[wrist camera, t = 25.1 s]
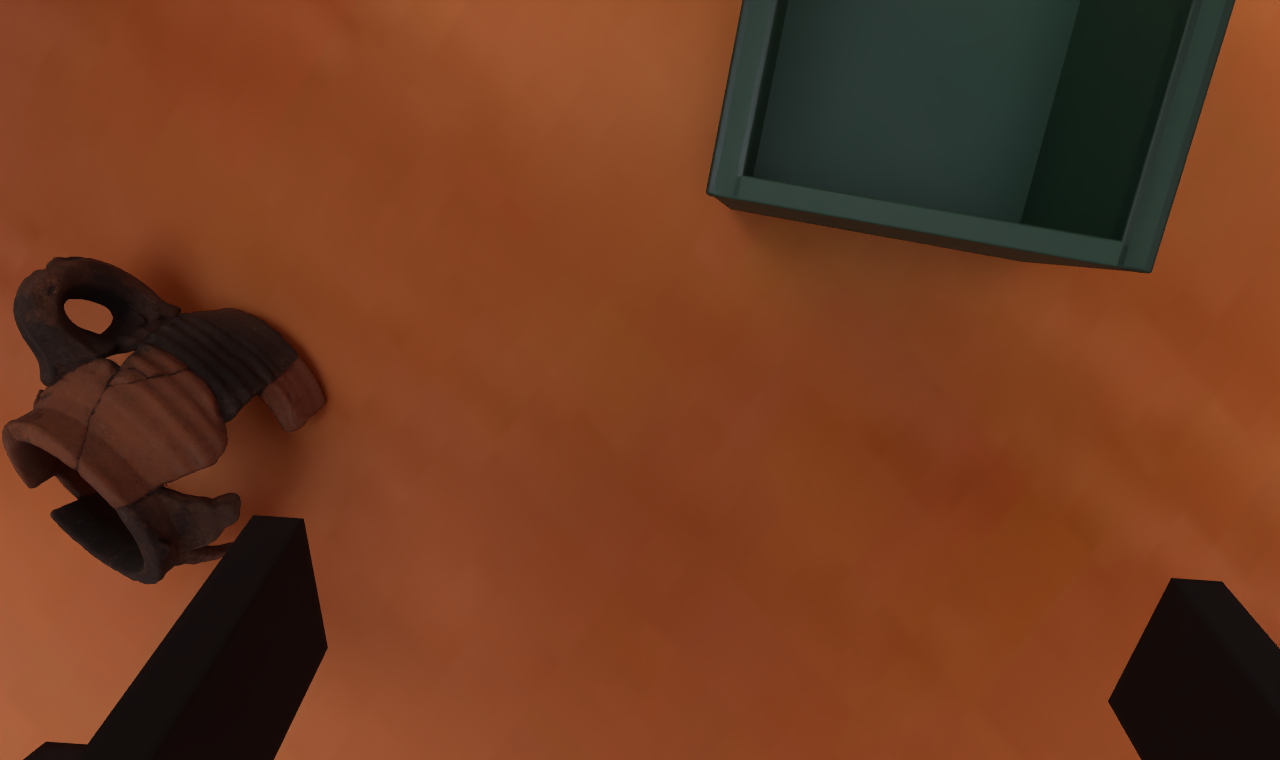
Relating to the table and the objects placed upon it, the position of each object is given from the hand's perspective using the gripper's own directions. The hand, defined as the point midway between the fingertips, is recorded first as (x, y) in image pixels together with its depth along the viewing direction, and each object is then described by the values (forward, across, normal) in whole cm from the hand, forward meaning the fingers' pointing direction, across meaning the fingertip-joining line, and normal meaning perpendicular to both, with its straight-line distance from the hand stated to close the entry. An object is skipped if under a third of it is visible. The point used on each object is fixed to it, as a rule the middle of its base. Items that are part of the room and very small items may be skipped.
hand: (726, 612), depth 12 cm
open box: (+19, +7, +6) cm, 21 cm away
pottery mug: (+18, -19, -8) cm, 28 cm away
